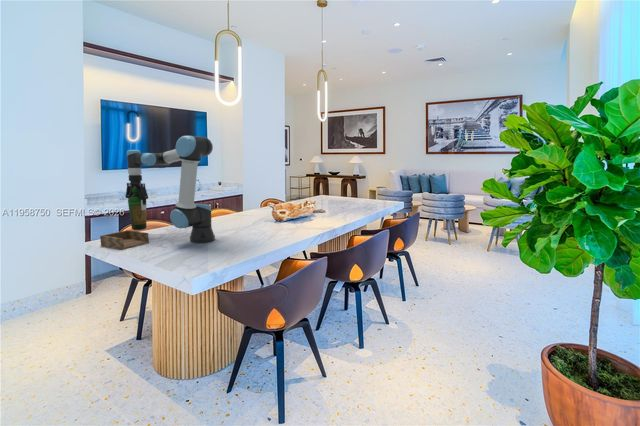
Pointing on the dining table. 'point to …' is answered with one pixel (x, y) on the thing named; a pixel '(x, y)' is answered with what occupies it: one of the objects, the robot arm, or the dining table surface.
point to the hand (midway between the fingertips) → (137, 209)
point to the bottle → (136, 211)
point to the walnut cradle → (124, 239)
